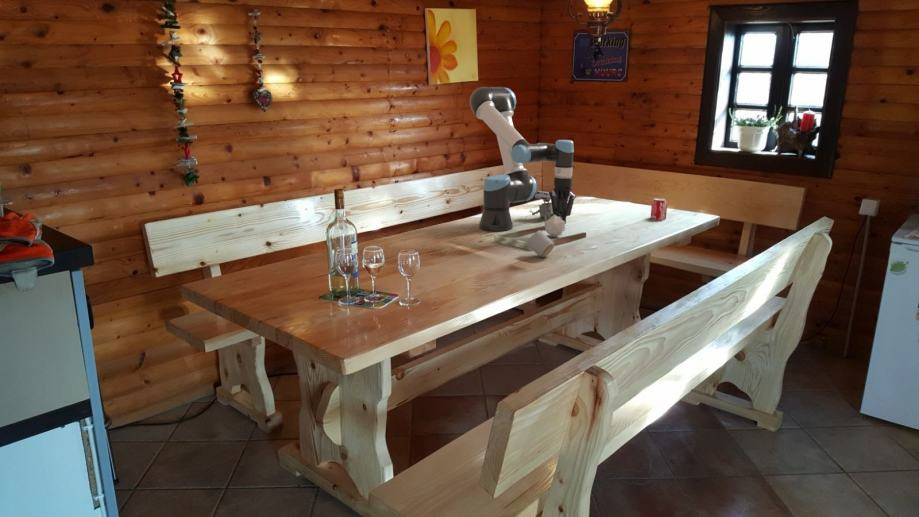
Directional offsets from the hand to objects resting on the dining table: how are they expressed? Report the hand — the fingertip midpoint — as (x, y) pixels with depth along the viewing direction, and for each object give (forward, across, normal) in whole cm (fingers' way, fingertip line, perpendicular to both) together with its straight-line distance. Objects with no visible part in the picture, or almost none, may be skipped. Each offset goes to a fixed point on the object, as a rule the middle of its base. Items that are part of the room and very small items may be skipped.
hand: (560, 231), depth 291 cm
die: (+2, +1, -5) cm, 6 cm away
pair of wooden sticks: (+2, 0, -12) cm, 12 cm away
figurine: (+2, -23, +18) cm, 29 cm away
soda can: (+2, +15, +55) cm, 57 cm away
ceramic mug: (+2, +18, -35) cm, 40 cm away
